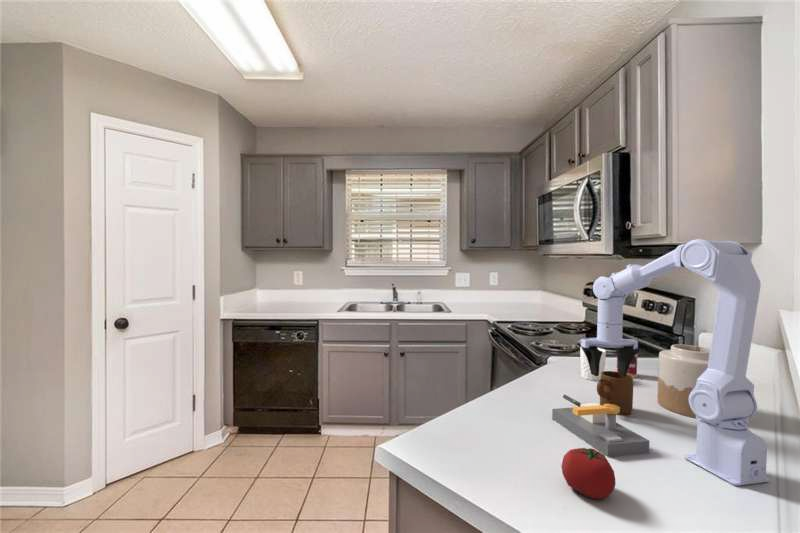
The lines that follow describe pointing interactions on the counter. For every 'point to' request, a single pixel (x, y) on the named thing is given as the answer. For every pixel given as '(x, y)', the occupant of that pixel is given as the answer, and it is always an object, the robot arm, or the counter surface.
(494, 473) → the counter surface
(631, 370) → the pill bottle
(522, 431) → the counter surface
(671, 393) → the vase
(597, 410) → the clip
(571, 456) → the tomato
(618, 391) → the mug
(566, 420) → the grey piece
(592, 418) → the plug
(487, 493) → the counter surface
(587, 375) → the white cup
